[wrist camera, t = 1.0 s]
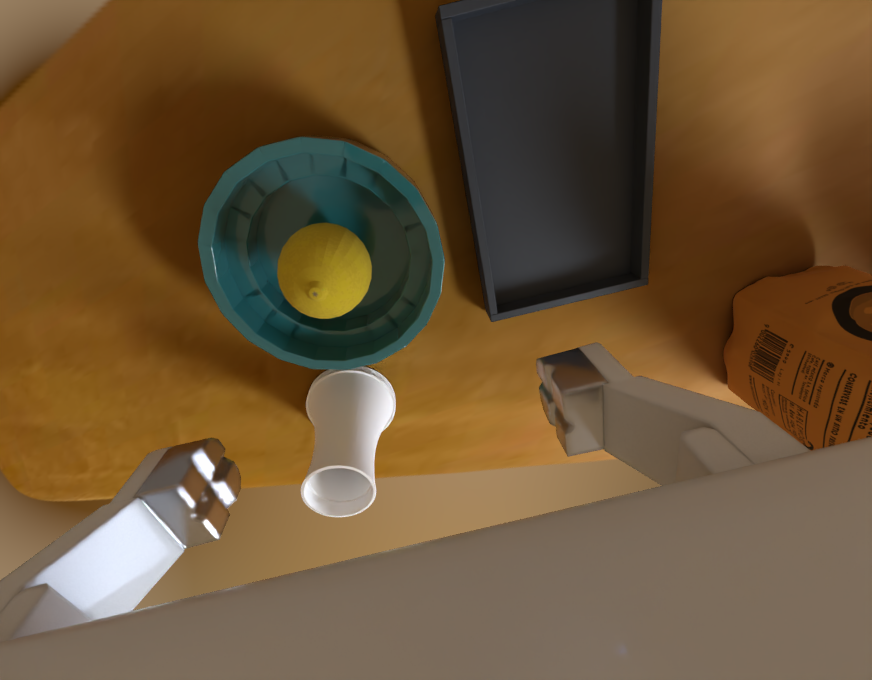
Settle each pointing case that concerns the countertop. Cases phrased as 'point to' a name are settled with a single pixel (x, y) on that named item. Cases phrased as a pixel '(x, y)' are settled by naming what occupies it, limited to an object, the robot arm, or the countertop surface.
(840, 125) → the countertop surface
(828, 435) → the coffee package
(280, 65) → the countertop surface
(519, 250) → the tray
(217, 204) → the bowl
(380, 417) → the vase
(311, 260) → the lemon
